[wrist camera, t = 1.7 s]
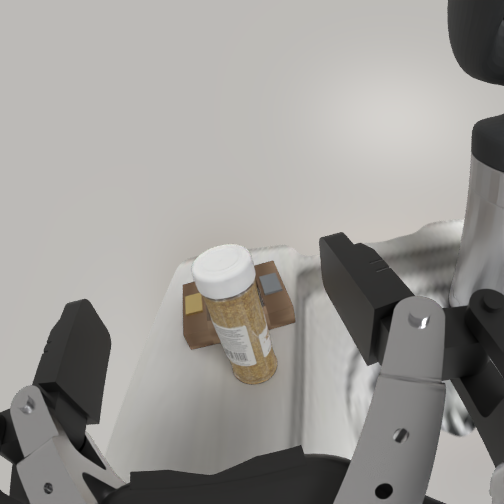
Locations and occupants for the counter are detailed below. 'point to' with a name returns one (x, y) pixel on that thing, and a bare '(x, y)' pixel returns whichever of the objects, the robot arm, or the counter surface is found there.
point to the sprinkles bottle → (236, 310)
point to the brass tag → (193, 304)
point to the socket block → (275, 307)
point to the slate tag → (270, 283)
